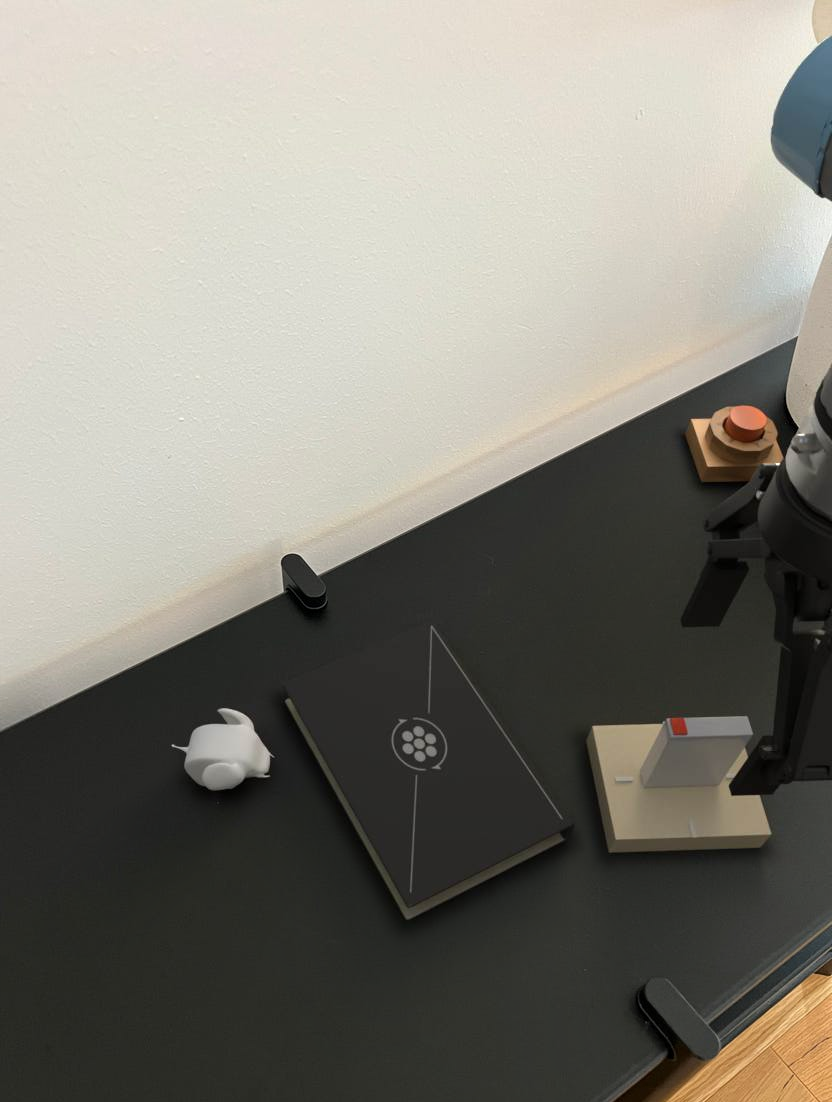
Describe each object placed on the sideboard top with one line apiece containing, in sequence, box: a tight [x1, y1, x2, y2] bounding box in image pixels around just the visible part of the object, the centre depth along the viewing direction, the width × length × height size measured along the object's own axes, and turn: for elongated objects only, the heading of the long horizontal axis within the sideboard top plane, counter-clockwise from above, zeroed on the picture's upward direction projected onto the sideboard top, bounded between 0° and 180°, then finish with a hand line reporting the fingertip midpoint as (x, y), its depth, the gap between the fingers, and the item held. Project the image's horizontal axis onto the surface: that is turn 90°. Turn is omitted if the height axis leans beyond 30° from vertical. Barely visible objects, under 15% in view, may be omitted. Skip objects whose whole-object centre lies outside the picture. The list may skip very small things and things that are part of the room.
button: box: [725, 405, 767, 443], centre depth 98 cm, size 4×4×2 cm
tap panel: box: [585, 721, 772, 854], centre depth 78 cm, size 12×10×3 cm
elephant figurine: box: [171, 707, 275, 791], centre depth 78 cm, size 7×8×6 cm
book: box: [282, 620, 576, 922], centre depth 80 cm, size 22×15×3 cm
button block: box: [684, 406, 784, 483], centre depth 100 cm, size 8×7×4 cm
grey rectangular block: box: [640, 715, 754, 788], centre depth 74 cm, size 6×2×8 cm, turn 92°
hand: (723, 702), depth 68 cm, fingers open, 13 cm apart
